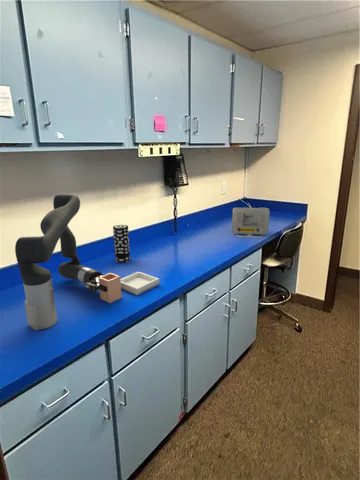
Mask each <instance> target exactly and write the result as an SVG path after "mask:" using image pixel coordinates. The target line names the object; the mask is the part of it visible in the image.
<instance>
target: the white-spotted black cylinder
mask: <svg viewBox="0 0 360 480" xmlns="http://www.w3.org/2000/svg"><path fill="white" fill-rule="evenodd" d="M112 231H113V246H114V247H113V248H114V258H115V259H114V260H115V262H116V263H120V264H121V263H122V264H123V263H128V262H130V261H131V251H130V250H131V249H130V236H129V225H127V224H117V225H114V226H113V227H112Z"/></svg>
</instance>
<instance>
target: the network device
mask: <svg viewBox="0 0 360 480" xmlns="http://www.w3.org/2000/svg"><path fill="white" fill-rule="evenodd" d="M270 213H271V211H270V208H268V207H233V208H232V216H231V217H232V219H231V232H232V233H233V234H236V237H239V238H264V235H267V234H268V233H269V229H270V228H269V226H270V225H269V224H270Z"/></svg>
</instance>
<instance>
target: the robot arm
mask: <svg viewBox="0 0 360 480" xmlns="http://www.w3.org/2000/svg"><path fill="white" fill-rule="evenodd" d="M52 206H53V209H52V210H50V211H49V212H47V213H46V214H45V216H43V218H42V219H41V222H40V224H39V225H40V226H39V228H40V229H41V230H40V231H41V232H42V233H41V234H43V235H42V236H41V235H40V236H22V237H19V238H17V240H16V242H15V246H14V252H15V253H14V254H15V258H16V262H17V267H18V269H19V276H20V278H21V279H22V284H23V288H24V295H25V301H24V309H25V314H26V320H27V325H28V326H29V327H30V328H31V329H32V330H34V331H36V332H37V331H39V330H43V329H44V330H45V329H48V328H52V327H53V326H54V325H55V324H57V322H58V315H57V308H56V302H55V293H54V287H53V280H52V274H51V271H50V270H49V269H47V268H45V267H42V266H40V265H38V264H44V263H48V261H50V259H51V258H52V256H53V254H54V251H55V249H56V246H57V244H58V242H60V253H61V257H63V258H66V259H67V258H69V259H70V261H65V262H62V263H60V264H59V265H58V268H57V269H58V270H57V271H58V274H59V275H60V276H61V277H63V278H65V279H69V280H77V281H78V282H80V283H82V284H84V285H85V289H86V290H89V291H92V292H95V293H96V292H97V291H100V290H101V291H104V292H107V287H106V286H104V285H101V284H99V278H98V277H101V276H103V273H102V272H100V270H99V271H98V270H97V269H94V268H91V267H87V266H84V265H82V264H81V261H80V259H79V256H78V252H77V240H76V237H75V235H74V233H73V232H72V230H71V229H70V227H69V226H68V225H69V223H70V222H71V220H72V219H73V218H74V217H76V215H77V214H78V213H79V211H80V207H81V199H80V197H79V196H78V195H77V194H74V193H72V194H70V193H57V194H55V195H54V196H53V205H52Z"/></svg>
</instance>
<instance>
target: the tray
mask: <svg viewBox="0 0 360 480" xmlns="http://www.w3.org/2000/svg"><path fill="white" fill-rule="evenodd" d="M120 281H121V290H124V291H127V292H129V293H131V294H134V295H136V296H139V295H141V294H142V293H145V292H147V291H149V290H151V289H153V288H155V287H157V286H159V285H160V278H158V277H156V276H153V275H150V274H147V273H144V272H140V271H135V272H133V273H131V274H129V275H127V276H124V277H123V278H120Z"/></svg>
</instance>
